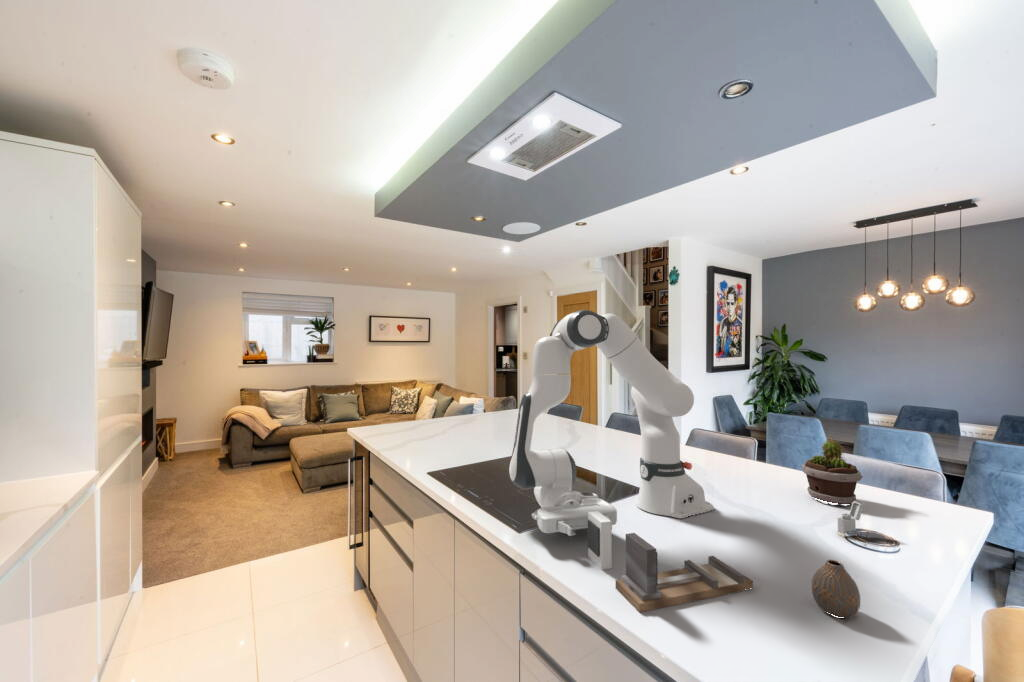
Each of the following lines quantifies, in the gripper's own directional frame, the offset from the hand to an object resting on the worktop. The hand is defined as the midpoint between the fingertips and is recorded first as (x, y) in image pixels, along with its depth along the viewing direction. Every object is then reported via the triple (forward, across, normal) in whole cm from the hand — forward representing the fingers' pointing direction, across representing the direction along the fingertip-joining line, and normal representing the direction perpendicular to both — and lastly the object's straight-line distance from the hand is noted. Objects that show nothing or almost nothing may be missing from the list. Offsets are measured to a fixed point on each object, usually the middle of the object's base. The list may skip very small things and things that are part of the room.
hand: (591, 530), depth 95 cm
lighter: (+9, +69, +6) cm, 70 cm away
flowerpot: (-10, +89, +6) cm, 90 cm away
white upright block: (+4, 0, +6) cm, 7 cm away
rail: (+18, +11, +6) cm, 22 cm away
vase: (+32, +32, +6) cm, 45 cm away
